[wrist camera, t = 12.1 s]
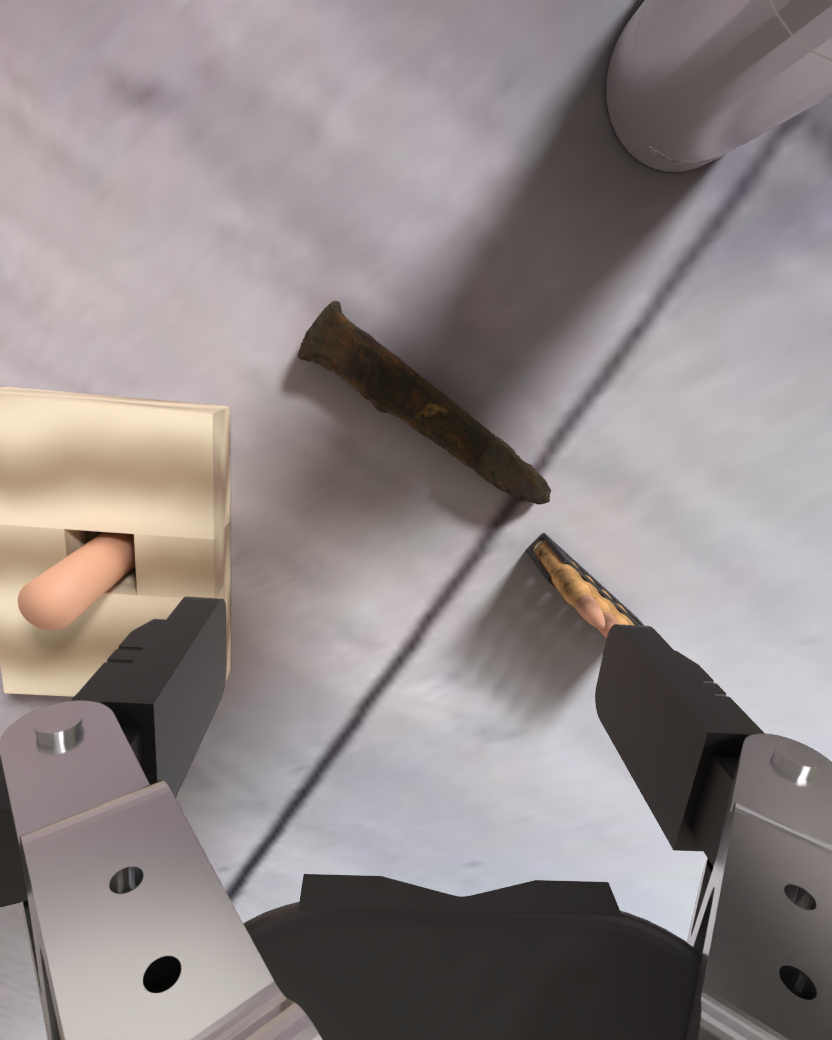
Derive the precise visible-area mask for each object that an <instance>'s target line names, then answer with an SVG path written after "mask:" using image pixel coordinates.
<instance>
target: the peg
mask: <svg viewBox="0 0 832 1040" xmlns="http://www.w3.org/2000/svg"><path fill="white" fill-rule="evenodd" d="M135 565H136V563H135V545H134V534H127V533H113V532H103V533H101V534H100V535H98V536H97V537H95V538H94V539H92V540H91V541H89V542H88V543H86V544H85V545H83V546H82V547H80V548H79V549H78V550H76V551H75V552H73V553H72V554H70V555H69V556H67V557H66V558H64V559H63V560H61V561H60V562H58V563H57V564H55V565H54V566H52V567H51V568H49V569H48V570H46V571H45V572H44V573H42V574H41V575H39V576H38V577H36V578H35V579H33V580H32V581H30V582H29V583H27V584H26V585H25V586H24V587H23V588H22V589H21V590H20V592H19V595H18V607H19V610H20V612H21V614H22V615H23V617H24V618H25V619H26V620H27V621H28V622H29V623H31V624H32V625H34V626H35V627H38V628H40V629H44V630H59V629H63V628H65V627H67V626H68V625H69V624H71V623H72V622H73V621H74V620H75V619H76V618H77V617H78V616H79V615H81V614H82V613H83V612H84V611H85V610H86V609H87V608H88V607H89V606H91V605H92V604H93V603H94V602H95V601H96V600H97V599H98V598H100V597H101V596H102V595H103V594H104V593H105V592H106V591H107V590H108V589H110V588H111V587H112V586H113V585H114V584H115V583H116V582H117V581H119V580H120V579H121V578H122V577H123V576H124V575H125V574H126V573H127V572H129V571H130V570H131V569H132V568H133V567H134V566H135Z"/></svg>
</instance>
